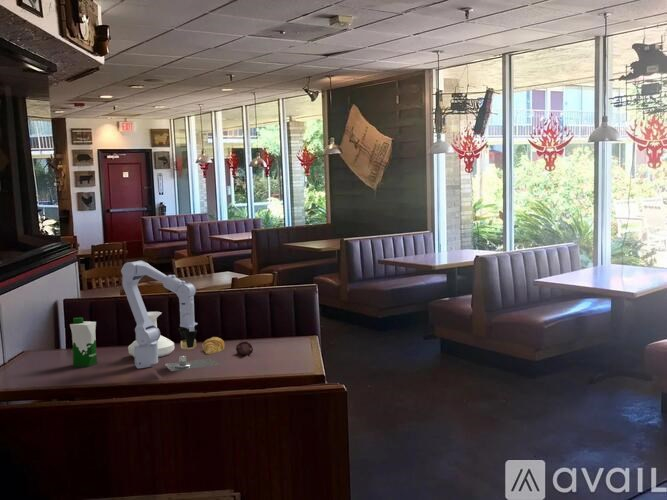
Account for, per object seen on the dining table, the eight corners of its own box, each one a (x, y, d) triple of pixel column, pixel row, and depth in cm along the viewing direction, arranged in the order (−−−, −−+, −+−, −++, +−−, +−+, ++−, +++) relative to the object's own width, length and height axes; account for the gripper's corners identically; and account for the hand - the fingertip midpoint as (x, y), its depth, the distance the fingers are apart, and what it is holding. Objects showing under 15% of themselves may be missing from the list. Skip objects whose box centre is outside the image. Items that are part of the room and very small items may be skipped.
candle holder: (120, 361, 294) (117, 317, 293) (141, 351, 314) (139, 309, 313) (163, 362, 291) (161, 317, 289) (182, 351, 310) (180, 310, 309)
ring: (183, 349, 275) (183, 342, 275) (180, 347, 281) (179, 340, 280) (197, 348, 278) (197, 340, 278) (193, 345, 283) (193, 338, 283)
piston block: (171, 374, 269) (170, 361, 269) (164, 366, 282) (163, 354, 282) (220, 367, 278) (220, 355, 277) (211, 360, 290) (211, 348, 290)
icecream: (254, 345, 290) (254, 341, 305) (237, 341, 289) (238, 337, 304) (250, 361, 290) (251, 356, 305) (233, 357, 289) (235, 353, 304)
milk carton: (81, 362, 295) (79, 316, 294) (100, 362, 293) (98, 316, 292) (69, 366, 286) (67, 319, 285) (89, 367, 285) (86, 320, 283)
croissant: (214, 364, 298) (222, 349, 297) (194, 354, 298) (201, 338, 298) (225, 353, 319) (232, 338, 319) (205, 343, 319) (213, 328, 319)
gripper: (201, 314, 274) (202, 348, 274) (192, 310, 287) (193, 341, 287) (183, 316, 270) (185, 350, 271) (175, 311, 284) (176, 343, 284)
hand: (188, 346), depth 279 cm, fingers closed on ring, 6 cm apart
